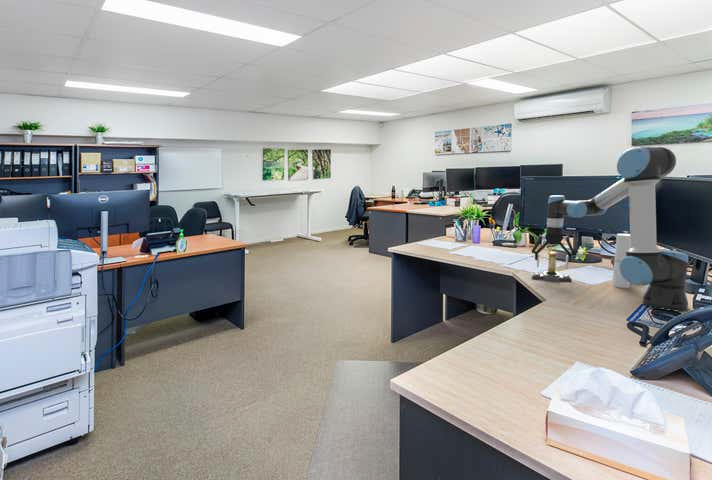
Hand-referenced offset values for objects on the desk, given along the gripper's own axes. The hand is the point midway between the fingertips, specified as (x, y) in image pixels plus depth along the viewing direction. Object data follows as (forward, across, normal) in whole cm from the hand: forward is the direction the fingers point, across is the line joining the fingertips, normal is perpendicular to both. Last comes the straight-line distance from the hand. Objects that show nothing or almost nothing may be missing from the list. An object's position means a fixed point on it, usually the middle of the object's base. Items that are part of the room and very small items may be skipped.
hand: (551, 267), depth 212 cm
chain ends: (+6, 0, 0) cm, 6 cm away
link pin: (+6, 0, 0) cm, 6 cm away
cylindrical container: (+6, -30, +4) cm, 31 cm away
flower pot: (+6, -34, -12) cm, 37 cm away
